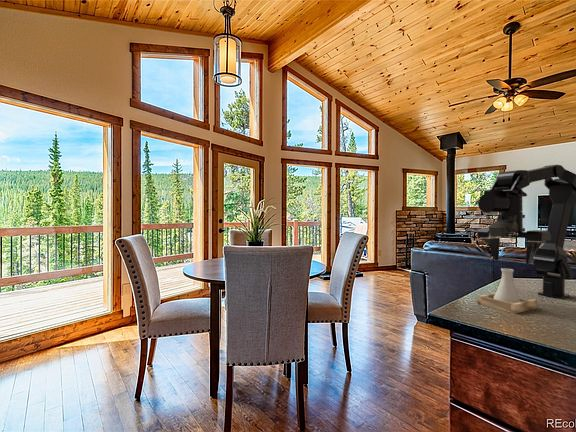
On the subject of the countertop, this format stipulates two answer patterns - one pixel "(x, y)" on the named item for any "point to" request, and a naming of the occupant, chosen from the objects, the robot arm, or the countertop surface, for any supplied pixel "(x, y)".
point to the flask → (507, 287)
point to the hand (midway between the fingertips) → (511, 262)
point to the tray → (507, 304)
